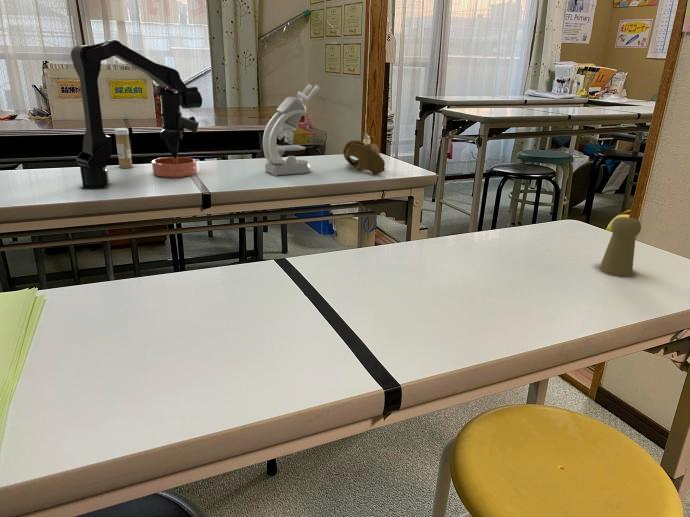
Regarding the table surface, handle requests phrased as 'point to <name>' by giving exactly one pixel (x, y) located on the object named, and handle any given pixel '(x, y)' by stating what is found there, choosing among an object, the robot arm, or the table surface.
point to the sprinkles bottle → (123, 147)
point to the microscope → (286, 135)
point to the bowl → (174, 167)
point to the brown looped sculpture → (364, 156)
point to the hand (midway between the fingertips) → (175, 157)
